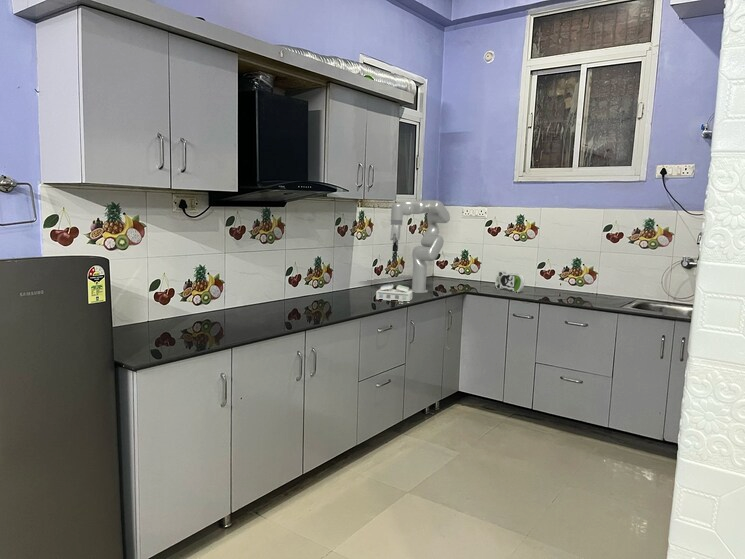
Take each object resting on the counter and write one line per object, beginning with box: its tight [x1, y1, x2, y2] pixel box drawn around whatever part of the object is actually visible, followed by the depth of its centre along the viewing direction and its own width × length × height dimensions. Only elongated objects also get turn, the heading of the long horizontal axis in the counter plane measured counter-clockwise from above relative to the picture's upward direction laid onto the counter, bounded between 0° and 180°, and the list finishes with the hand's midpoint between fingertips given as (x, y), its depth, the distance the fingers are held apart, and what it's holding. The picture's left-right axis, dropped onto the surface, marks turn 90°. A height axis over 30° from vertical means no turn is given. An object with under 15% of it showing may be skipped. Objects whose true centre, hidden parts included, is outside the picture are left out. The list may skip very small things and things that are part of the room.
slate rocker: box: [380, 283, 394, 290], centre depth 351 cm, size 6×7×2 cm
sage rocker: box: [395, 284, 410, 292], centre depth 349 cm, size 6×7×2 cm
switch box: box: [375, 287, 414, 302], centre depth 350 cm, size 13×21×6 cm, turn 78°
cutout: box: [494, 270, 525, 293], centre depth 404 cm, size 15×3×25 cm
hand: (395, 251), depth 359 cm, fingers closed
